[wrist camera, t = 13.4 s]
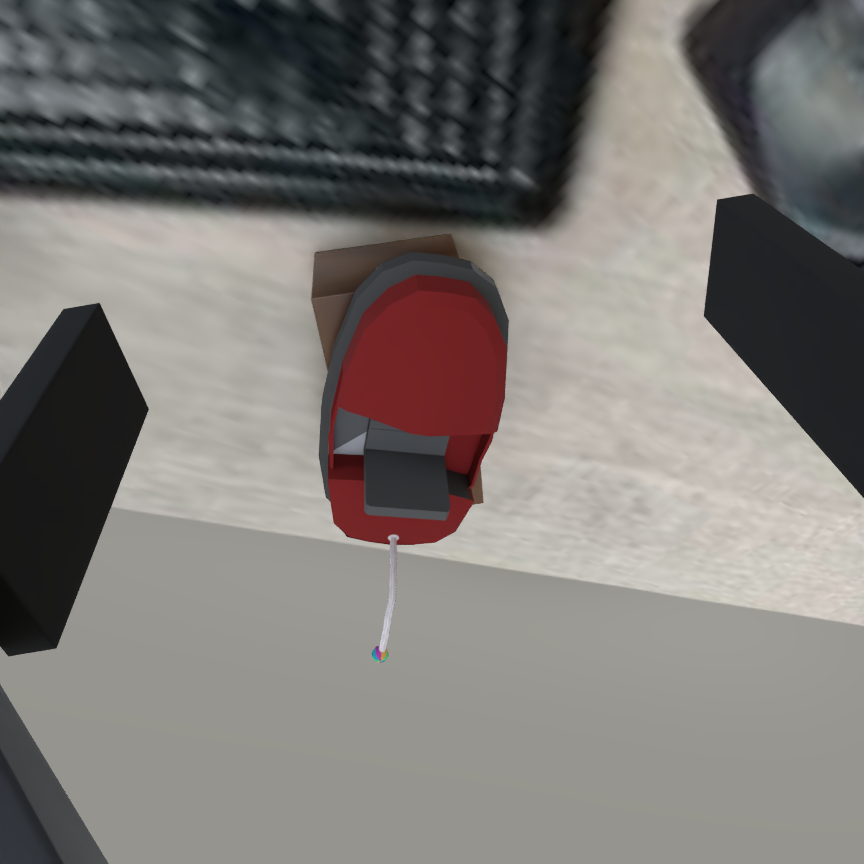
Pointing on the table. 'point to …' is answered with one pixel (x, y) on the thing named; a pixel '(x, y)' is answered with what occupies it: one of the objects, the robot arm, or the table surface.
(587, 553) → the table surface
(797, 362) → the robot arm
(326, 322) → the walnut block
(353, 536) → the bumper car
